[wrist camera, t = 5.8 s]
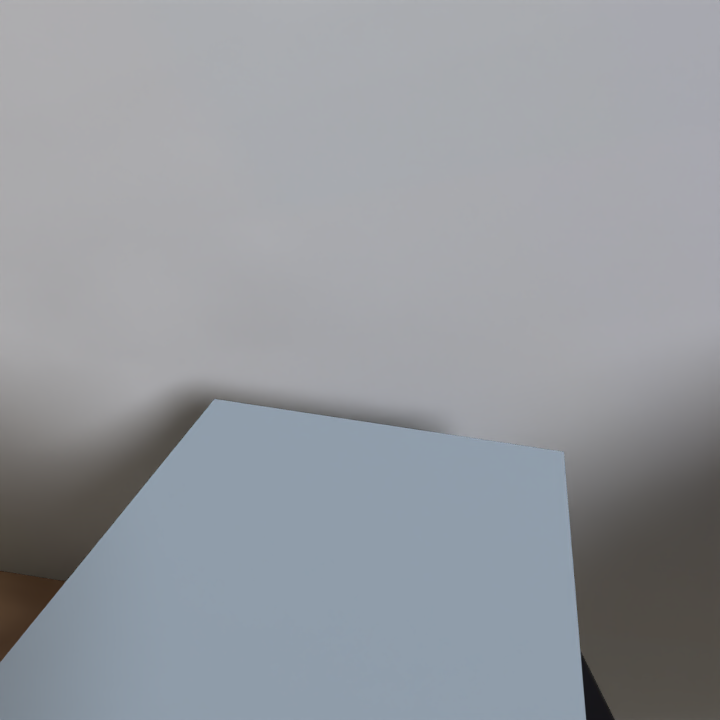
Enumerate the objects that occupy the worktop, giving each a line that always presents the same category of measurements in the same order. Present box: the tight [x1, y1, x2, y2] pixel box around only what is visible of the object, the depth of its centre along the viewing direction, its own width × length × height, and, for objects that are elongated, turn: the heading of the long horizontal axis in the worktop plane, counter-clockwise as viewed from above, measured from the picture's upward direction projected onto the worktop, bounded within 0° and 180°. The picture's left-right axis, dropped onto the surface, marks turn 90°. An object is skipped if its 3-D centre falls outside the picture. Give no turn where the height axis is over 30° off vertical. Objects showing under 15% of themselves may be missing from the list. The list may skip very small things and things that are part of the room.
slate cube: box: [0, 399, 586, 720], centre depth 8 cm, size 5×5×5 cm
